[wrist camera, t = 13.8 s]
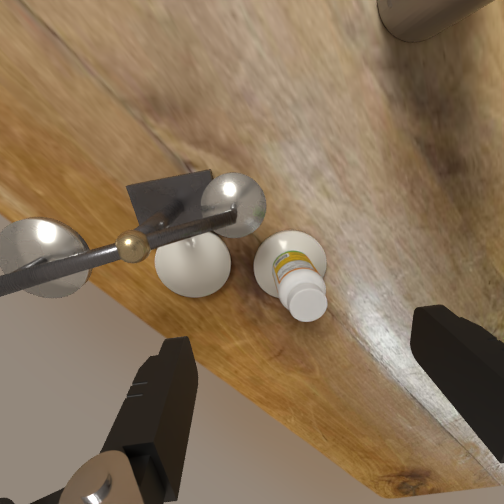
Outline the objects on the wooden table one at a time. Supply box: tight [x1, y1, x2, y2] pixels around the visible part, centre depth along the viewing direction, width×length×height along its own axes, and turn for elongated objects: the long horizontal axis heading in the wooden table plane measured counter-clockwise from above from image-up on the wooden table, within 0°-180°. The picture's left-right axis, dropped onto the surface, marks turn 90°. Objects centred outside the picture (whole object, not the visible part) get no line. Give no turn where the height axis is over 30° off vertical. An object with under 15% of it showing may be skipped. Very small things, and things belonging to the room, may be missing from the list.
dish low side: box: [253, 230, 327, 298], centre depth 37 cm, size 10×10×1 cm
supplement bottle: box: [272, 250, 327, 322], centre depth 31 cm, size 5×5×10 cm
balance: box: [0, 169, 266, 298], centre depth 24 cm, size 21×7×19 cm, turn 100°
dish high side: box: [155, 231, 231, 297], centre depth 36 cm, size 10×10×1 cm
